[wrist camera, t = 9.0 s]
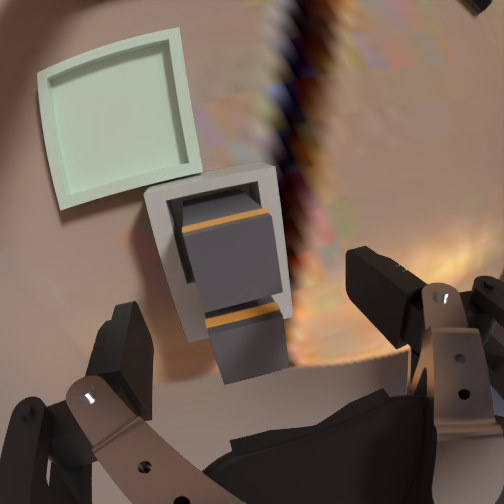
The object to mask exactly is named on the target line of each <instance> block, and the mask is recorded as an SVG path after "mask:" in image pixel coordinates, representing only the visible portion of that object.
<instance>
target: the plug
mask: <svg viewBox="0 0 504 504" xmlns="http://www.w3.org/2000/svg"><path fill="white" fill-rule="evenodd" d="M182 234H183V238H184V242H185V245H186V249H187V253H188V256H189V260H190V264H191V267H192V271H193V274H194V278H195V281H196V285H197V288H198V292H199V295H200V299H201V302H202V305H203V308H204V311H205V313H206V312H210V311H214V310H218V309H222V308H226V307H230V306H234V305H238V304H241V303H245V302H249V301H253V300H256V299H260V298H264V297H267V296H271V295H275V294H278V293H282V292H283V289H282V282H281V274H280V267H279V260H278V253H277V247H276V240H275V233H274V226H273V220H272V216H271V215H270V214H269V211H268V210H267V209H265V208H262V207H261V206H260V205H259V204H257V203H256V202H255V201H254V200H253V199H252V198H250V197H249V196H248V195H247V194H246V193H244V192H243V191H242V190H241V189H240V188H237V189H232V190H228V191H223V192H219V193H215V194H210V195H206V196H202V197H197V198H193V199H189V200H185V201H183V227H182Z"/></svg>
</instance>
